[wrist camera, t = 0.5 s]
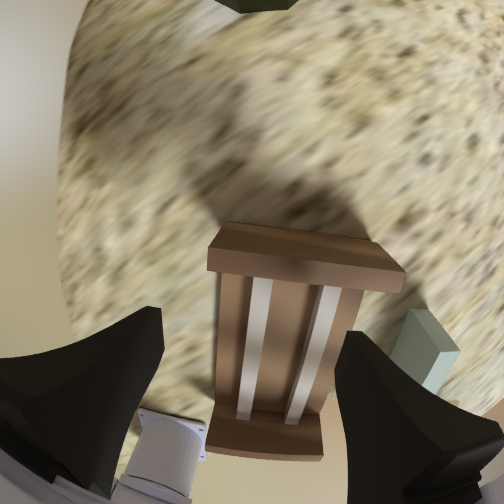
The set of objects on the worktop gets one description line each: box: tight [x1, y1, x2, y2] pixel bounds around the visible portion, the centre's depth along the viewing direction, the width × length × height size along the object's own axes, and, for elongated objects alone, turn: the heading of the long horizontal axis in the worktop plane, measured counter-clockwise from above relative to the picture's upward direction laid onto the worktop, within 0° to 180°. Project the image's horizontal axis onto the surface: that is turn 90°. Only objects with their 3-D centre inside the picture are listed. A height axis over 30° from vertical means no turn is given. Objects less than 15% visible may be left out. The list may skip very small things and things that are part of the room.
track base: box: [205, 221, 406, 461], centre depth 19 cm, size 18×10×6 cm, turn 174°
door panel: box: [389, 308, 460, 394], centre depth 19 cm, size 8×2×6 cm, turn 174°
